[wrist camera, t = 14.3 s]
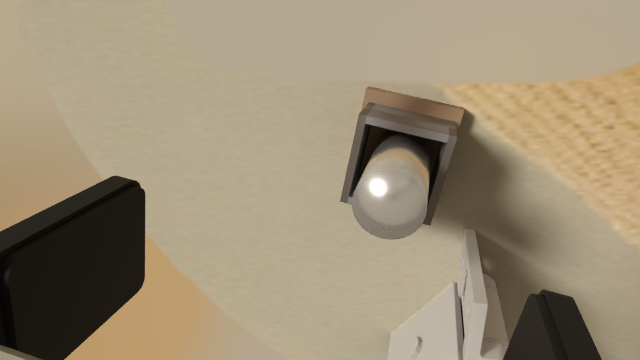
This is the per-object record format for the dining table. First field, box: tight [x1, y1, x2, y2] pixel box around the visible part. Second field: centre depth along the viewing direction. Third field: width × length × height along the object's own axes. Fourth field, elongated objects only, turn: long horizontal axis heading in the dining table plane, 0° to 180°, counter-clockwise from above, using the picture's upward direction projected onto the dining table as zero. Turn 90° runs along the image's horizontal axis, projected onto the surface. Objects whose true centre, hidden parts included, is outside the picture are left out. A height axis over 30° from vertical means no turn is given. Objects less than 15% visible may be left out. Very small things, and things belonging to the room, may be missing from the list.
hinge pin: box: [352, 130, 431, 239], centre depth 28 cm, size 4×4×10 cm
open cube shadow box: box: [340, 87, 464, 225], centre depth 31 cm, size 7×8×6 cm
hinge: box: [387, 229, 509, 360], centre depth 33 cm, size 14×5×10 cm, turn 154°
